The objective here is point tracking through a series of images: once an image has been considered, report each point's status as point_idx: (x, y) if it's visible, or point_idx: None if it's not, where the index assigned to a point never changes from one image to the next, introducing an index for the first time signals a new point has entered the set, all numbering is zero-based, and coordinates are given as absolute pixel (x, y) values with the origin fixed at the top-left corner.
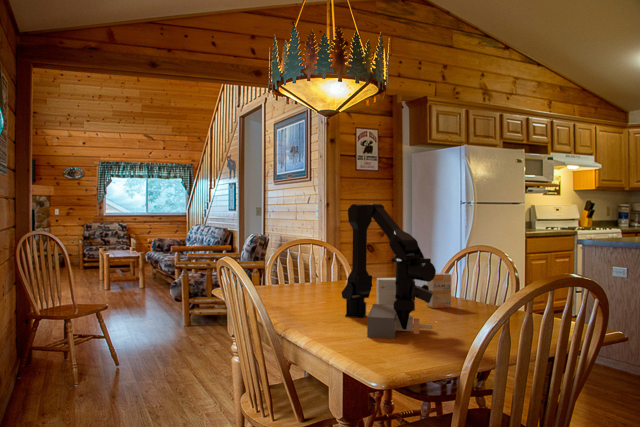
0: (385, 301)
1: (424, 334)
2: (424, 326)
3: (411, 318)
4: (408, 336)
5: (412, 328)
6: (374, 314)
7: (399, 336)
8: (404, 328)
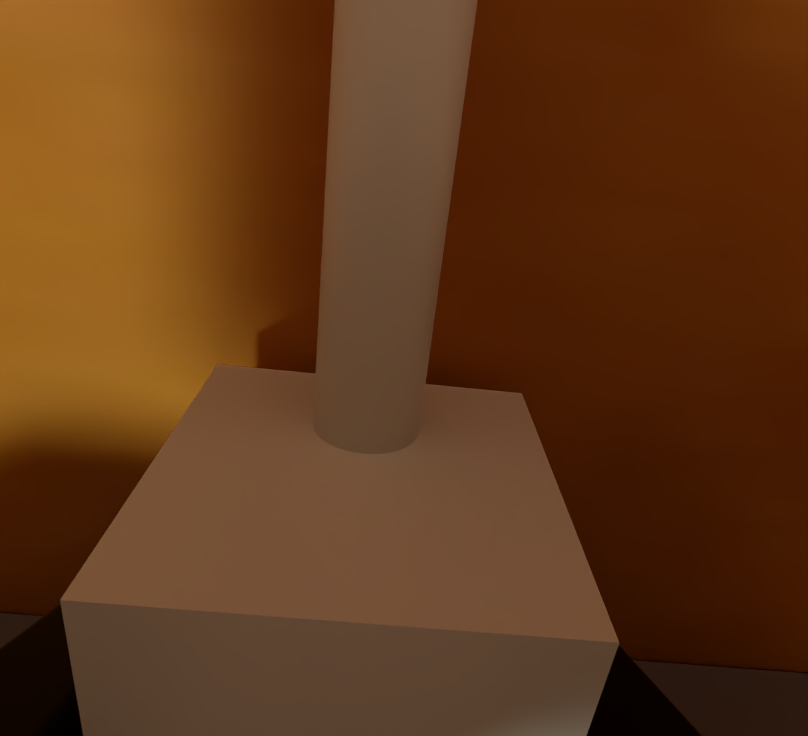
0: None
1: (673, 115)
2: (464, 85)
3: (598, 674)
4: (800, 478)
5: (535, 432)
6: None
7: (774, 610)
8: None
